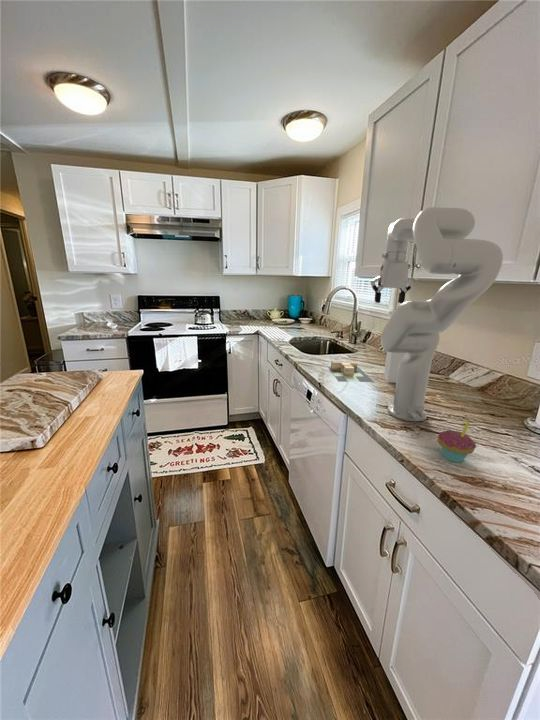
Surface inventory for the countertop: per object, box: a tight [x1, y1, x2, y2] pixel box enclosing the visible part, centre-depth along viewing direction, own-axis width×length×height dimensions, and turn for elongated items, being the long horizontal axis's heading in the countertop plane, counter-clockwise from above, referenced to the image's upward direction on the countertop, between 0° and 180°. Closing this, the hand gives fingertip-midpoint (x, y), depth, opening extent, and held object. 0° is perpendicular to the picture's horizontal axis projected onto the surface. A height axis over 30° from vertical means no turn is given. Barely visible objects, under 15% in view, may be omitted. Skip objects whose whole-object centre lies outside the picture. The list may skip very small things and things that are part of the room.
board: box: [327, 366, 375, 383], centre depth 142 cm, size 22×16×1 cm
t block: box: [330, 360, 358, 376], centre depth 144 cm, size 12×12×4 cm
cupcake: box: [436, 419, 477, 463], centre depth 78 cm, size 9×8×12 cm
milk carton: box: [383, 351, 406, 384], centre depth 133 cm, size 7×7×19 cm
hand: (389, 302), depth 119 cm, fingers open, 9 cm apart
